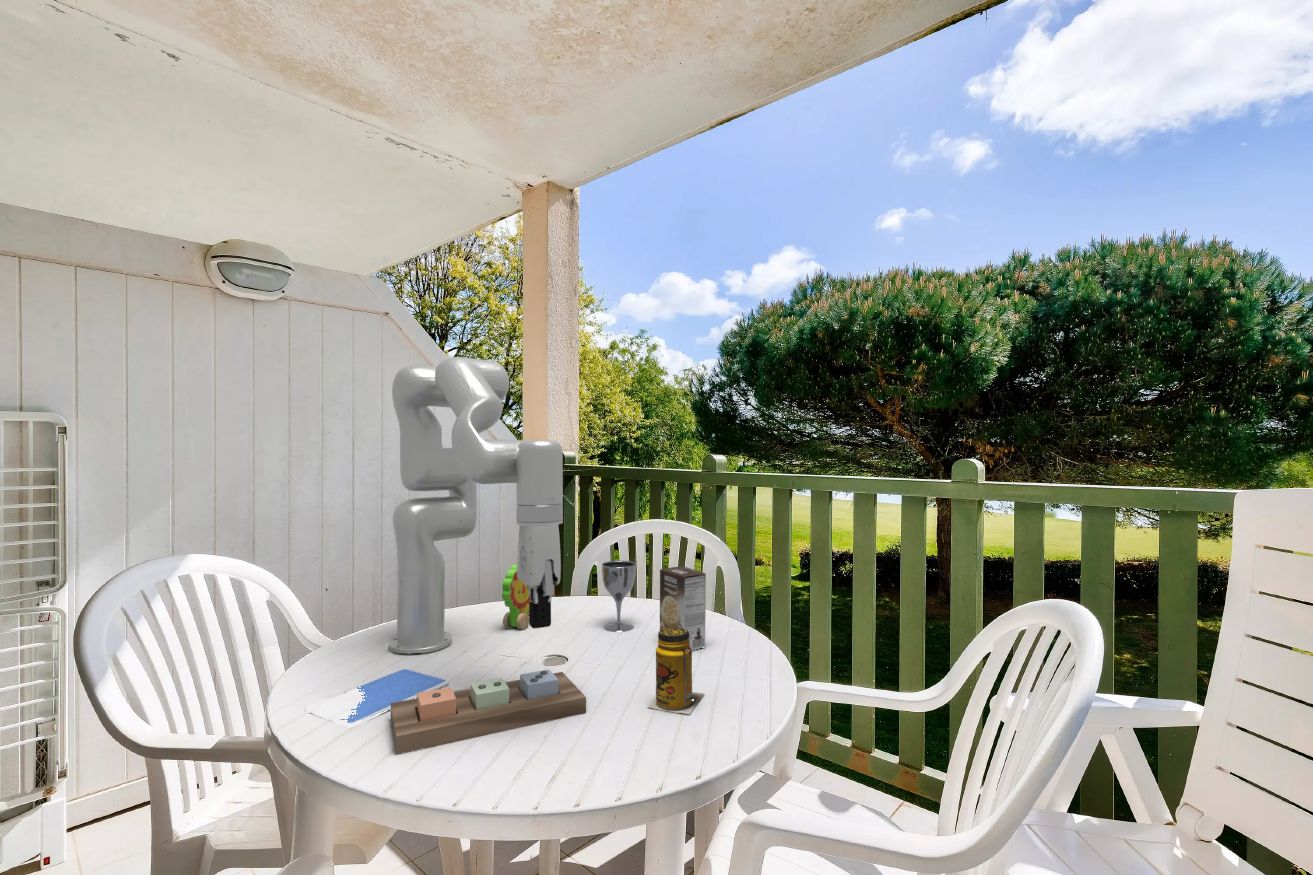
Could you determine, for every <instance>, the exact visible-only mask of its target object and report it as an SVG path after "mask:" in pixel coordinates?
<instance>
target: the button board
mask: <svg viewBox="0 0 1313 875" xmlns="http://www.w3.org/2000/svg"><path fill="white" fill-rule="evenodd" d="M552 673H553V672H552ZM553 674H554V675H555V676H556V677H557V678H558V694H555V695H550V696H545V697H540V698H535V699H530V700H526V698H525V697H524V696H523V694H522V693H521V691H520V679H515V680H510V681H509V680H508V681H505V683H506V684H507V686H508V687H509V704H505V705H500V706H495V707H490V708H485V709H480V710H474V708H473V706H472V703H471V688H467V689H466V688H465V689H461V690H455V691H454V690H453V692H454V695H455V697H456V714H455V715H450V716H445V717H440V718H435V719H430V720H425V721H420V722H419V718H418V714H417V698H416V699H411V700H405V701H400V702H394V703H391V710H390V724H391V723H392V725H391V730H393V731H392V736H394V738H393V742H394V743H395V744H394V750H396V751H395V754H396V755H400V754H403V753H402V752H405V753H408V752H409V751H410V752H413V751H412V750H414V751H418V749H419V750H423V749H427V748H431V747H436V746H440V745H445V744H449V743H454V742H458V741H459V742H460V741H463V740H467V739H472V738H478V737H481V736H487V735H491V734H495V733H499V732H504V731H509V730H513V729H518V728H523V727H526V726H531V725H537V724H540V723H541V724H542V723H545V722H546V723H547V722H550V721H554V720H555V721H556V720H558V719H563V718H567V717H572V716H577V715H581V714H586V713H587V696H586V695H585V693H583V692H582V691H581V690H580V689H579V688H578V686H576V684H575V683H573V682H572V680H571V679H570V678H569V677H568V676H567V675H566V674H565V673H564V672H563V671H559V672H558V671H557V672H554V673H553ZM422 748H423V749H422ZM399 753H400V754H399Z"/></svg>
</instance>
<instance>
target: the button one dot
mask: <svg viewBox="0 0 1313 875" xmlns="http://www.w3.org/2000/svg"><path fill="white" fill-rule="evenodd" d="M417 714H418V718H419V722H420V721H425V720H430V719H435V718H440V717H445V716H450V715H455V714H456V697H455V695H454V690H453V689H452V687H451V686H448V687H442V688H439V689H436V690H431V691H425V692H419V693H417Z"/></svg>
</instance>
